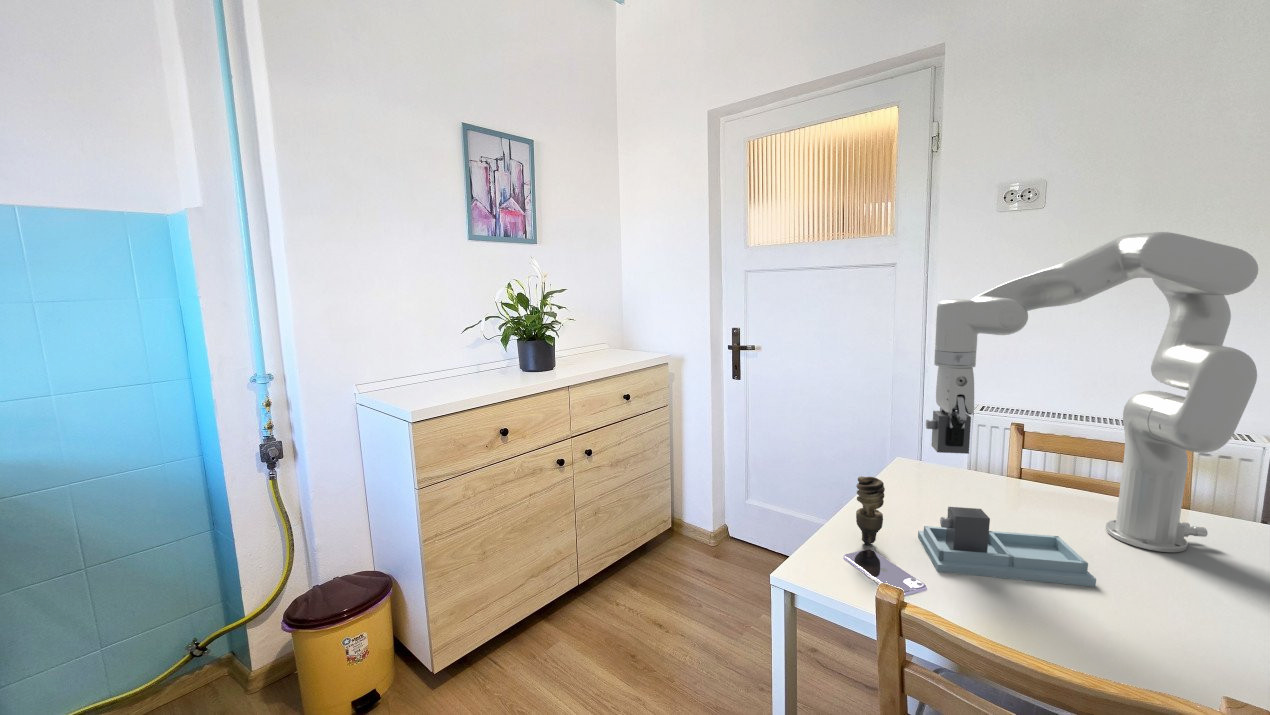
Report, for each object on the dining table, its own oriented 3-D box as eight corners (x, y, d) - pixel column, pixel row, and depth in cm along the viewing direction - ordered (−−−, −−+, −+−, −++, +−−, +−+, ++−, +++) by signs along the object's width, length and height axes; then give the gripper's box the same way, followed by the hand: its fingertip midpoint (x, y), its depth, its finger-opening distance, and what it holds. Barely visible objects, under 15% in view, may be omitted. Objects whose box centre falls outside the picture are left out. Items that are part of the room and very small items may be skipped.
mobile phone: (871, 547, 113) (930, 586, 99) (870, 551, 113) (929, 590, 99) (840, 553, 110) (896, 594, 96) (840, 558, 111) (896, 599, 96)
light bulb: (849, 538, 118) (851, 472, 115) (873, 536, 118) (876, 471, 116) (862, 551, 112) (865, 482, 110) (887, 549, 113) (891, 481, 110)
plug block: (961, 446, 118) (963, 411, 117) (968, 453, 114) (971, 416, 113) (923, 445, 120) (924, 410, 119) (928, 452, 116) (930, 415, 114)
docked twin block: (978, 545, 110) (981, 508, 109) (986, 557, 106) (989, 518, 105) (936, 542, 112) (939, 506, 111) (943, 553, 108) (946, 515, 107)
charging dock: (1055, 548, 111) (1057, 532, 111) (1095, 586, 98) (1097, 568, 97) (917, 537, 117) (918, 522, 117) (937, 571, 104) (938, 554, 103)
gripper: (990, 365, 105) (984, 456, 107) (961, 352, 121) (957, 431, 123) (947, 365, 106) (942, 454, 109) (924, 352, 123) (921, 430, 125)
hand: (950, 441), depth 116 cm, fingers closed on plug block, 4 cm apart
